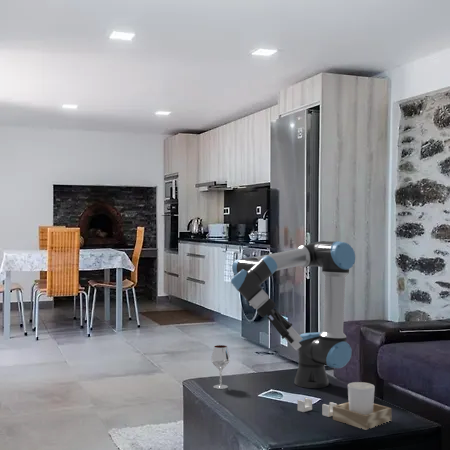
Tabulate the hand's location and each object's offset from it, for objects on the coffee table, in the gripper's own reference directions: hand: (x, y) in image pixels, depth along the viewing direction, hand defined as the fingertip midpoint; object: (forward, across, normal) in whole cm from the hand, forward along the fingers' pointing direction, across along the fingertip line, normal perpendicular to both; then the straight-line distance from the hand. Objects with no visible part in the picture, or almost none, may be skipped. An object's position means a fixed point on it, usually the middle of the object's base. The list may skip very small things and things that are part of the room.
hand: (299, 344), depth 238 cm
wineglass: (-5, -27, -44) cm, 52 cm away
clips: (+23, +3, -12) cm, 26 cm away
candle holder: (+34, +10, 0) cm, 35 cm away
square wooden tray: (+34, +10, 0) cm, 36 cm away
